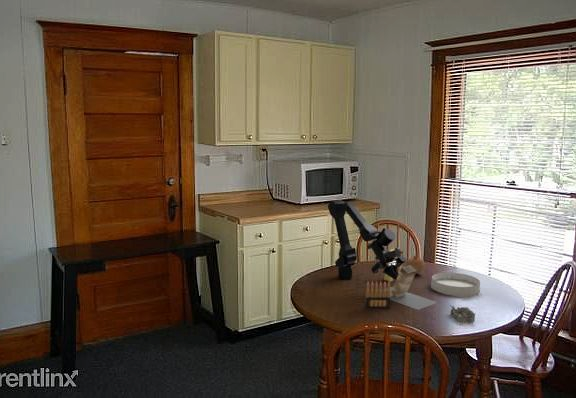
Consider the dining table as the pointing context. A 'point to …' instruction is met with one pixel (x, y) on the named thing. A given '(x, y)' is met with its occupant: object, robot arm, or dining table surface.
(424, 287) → the dining table surface
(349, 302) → the dining table surface
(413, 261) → the onion
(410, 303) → the rubber mat
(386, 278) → the candy box
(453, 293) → the dish
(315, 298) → the dining table surface
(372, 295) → the ammunition clip
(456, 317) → the dark green lumpy clump
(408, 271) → the birch block
